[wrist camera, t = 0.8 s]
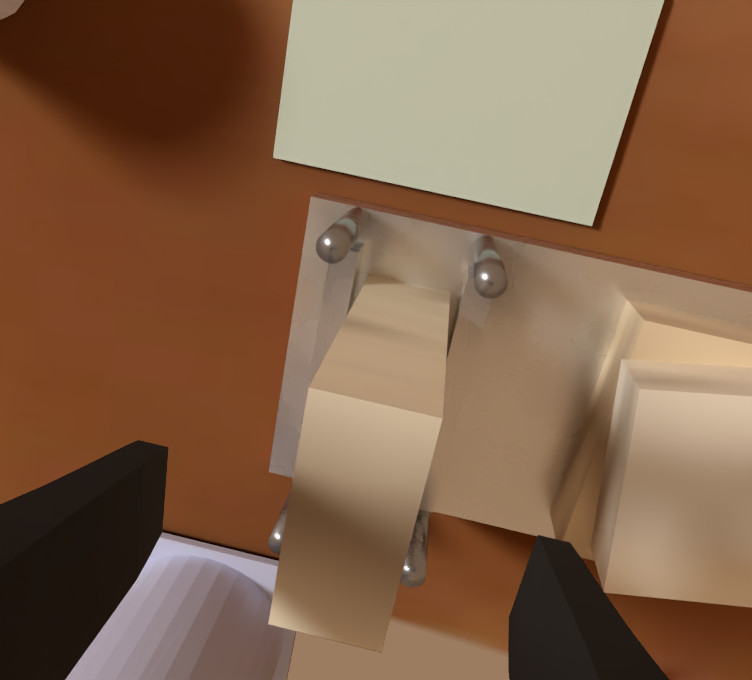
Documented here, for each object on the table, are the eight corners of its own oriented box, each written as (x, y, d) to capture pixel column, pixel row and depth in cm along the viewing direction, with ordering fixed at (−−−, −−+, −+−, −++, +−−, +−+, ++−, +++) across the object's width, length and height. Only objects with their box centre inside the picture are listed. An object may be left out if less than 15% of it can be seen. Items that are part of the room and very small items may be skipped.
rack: (701, 559, 23) (761, 673, 19) (276, 457, 24) (231, 542, 19) (824, 302, 20) (937, 364, 15) (317, 192, 20) (275, 219, 16)
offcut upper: (737, 560, 20) (766, 608, 18) (590, 547, 20) (603, 592, 18) (788, 369, 17) (828, 401, 16) (621, 359, 18) (639, 389, 16)
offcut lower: (693, 548, 22) (715, 589, 20) (550, 514, 22) (558, 552, 20) (793, 335, 19) (829, 361, 17) (626, 299, 19) (644, 320, 17)
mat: (590, 224, 20) (592, 226, 19) (275, 156, 20) (273, 157, 20) (663, -7, 17) (667, -9, 17) (305, -77, 18) (303, -80, 17)
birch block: (410, 455, 22) (381, 652, 14) (337, 438, 22) (268, 624, 14) (450, 292, 20) (442, 418, 12) (369, 274, 20) (308, 387, 12)
